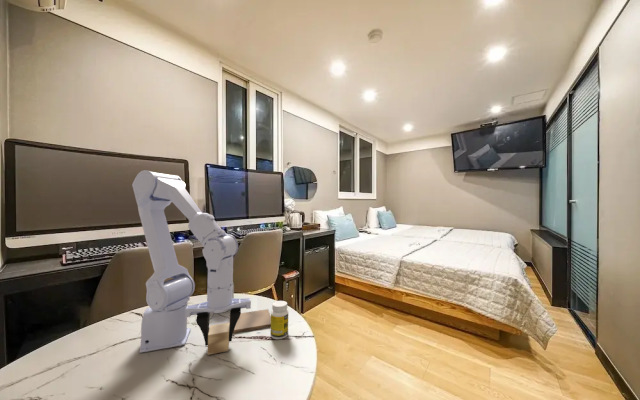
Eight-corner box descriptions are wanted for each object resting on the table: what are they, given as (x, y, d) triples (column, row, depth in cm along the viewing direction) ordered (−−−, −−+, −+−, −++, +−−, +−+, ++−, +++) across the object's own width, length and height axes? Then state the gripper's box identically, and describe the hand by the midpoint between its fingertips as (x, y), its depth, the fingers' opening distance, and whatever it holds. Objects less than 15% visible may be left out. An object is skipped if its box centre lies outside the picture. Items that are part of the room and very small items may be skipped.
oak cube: (207, 354, 53) (208, 335, 53) (209, 343, 57) (210, 325, 57) (228, 350, 54) (228, 331, 55) (228, 340, 59) (229, 322, 59)
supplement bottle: (286, 340, 59) (286, 307, 60) (268, 339, 60) (269, 307, 60) (289, 330, 64) (289, 300, 65) (272, 330, 64) (273, 299, 65)
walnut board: (228, 334, 62) (228, 331, 62) (229, 317, 71) (229, 314, 71) (272, 326, 66) (272, 323, 66) (268, 311, 76) (268, 309, 76)
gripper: (183, 294, 50) (181, 357, 50) (251, 287, 55) (250, 344, 55) (189, 284, 57) (187, 340, 56) (250, 278, 62) (249, 329, 61)
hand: (218, 341), depth 56 cm, fingers closed on oak cube, 4 cm apart
